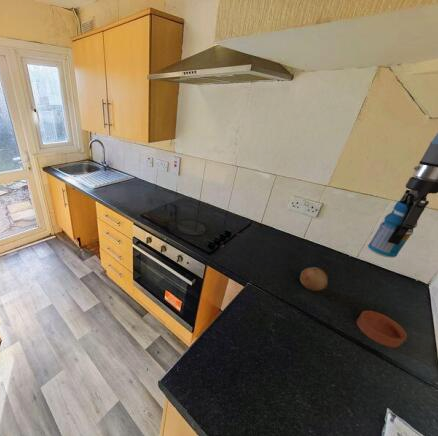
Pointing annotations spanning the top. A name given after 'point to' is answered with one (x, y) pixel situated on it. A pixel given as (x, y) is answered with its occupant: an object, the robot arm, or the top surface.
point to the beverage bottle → (390, 233)
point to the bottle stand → (381, 329)
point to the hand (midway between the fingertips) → (390, 238)
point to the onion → (314, 279)
